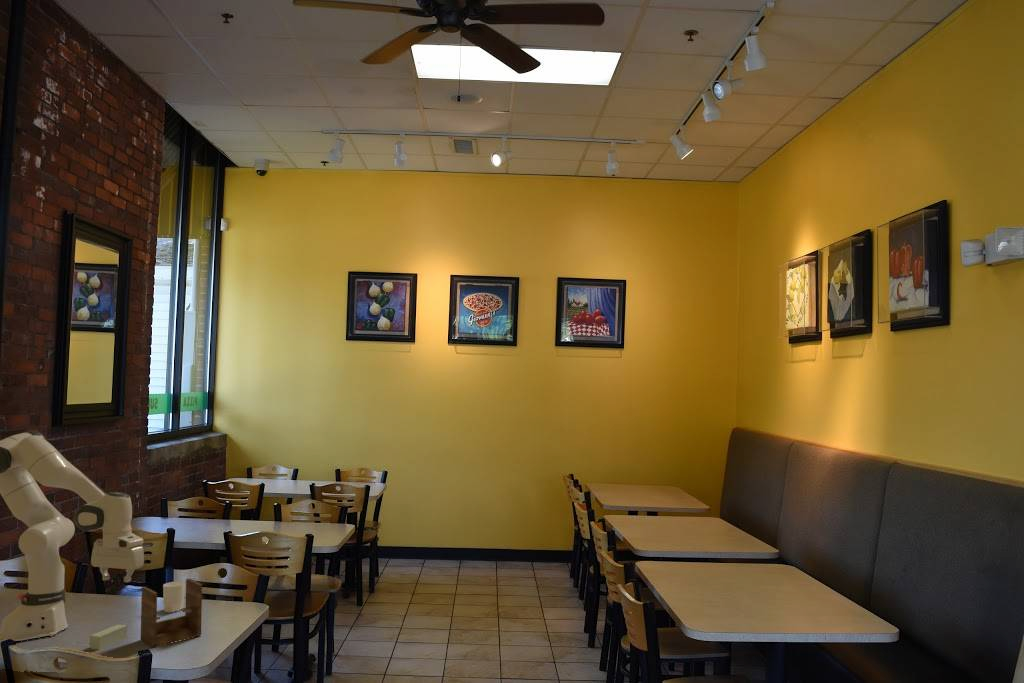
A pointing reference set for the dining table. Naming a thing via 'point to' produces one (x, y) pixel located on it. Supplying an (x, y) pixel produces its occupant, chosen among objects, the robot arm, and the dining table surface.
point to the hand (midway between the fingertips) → (116, 580)
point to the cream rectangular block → (108, 637)
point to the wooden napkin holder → (174, 627)
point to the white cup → (173, 596)
